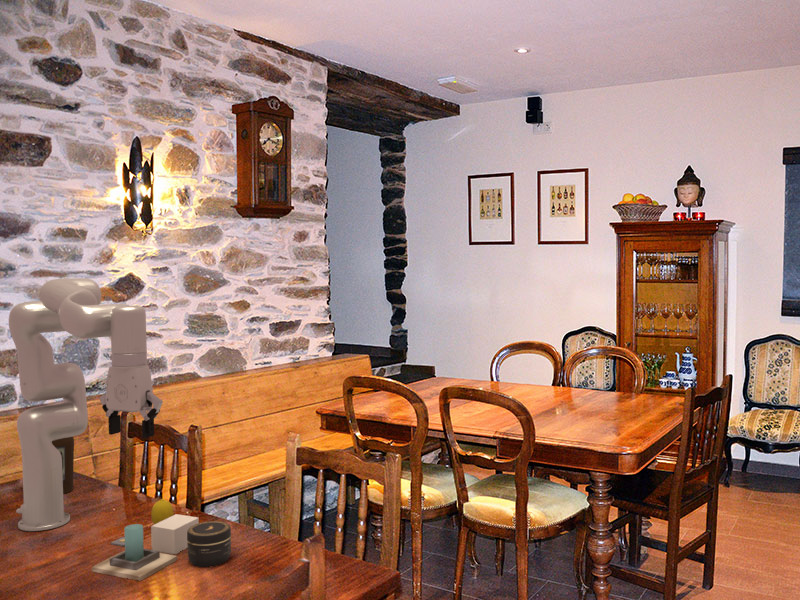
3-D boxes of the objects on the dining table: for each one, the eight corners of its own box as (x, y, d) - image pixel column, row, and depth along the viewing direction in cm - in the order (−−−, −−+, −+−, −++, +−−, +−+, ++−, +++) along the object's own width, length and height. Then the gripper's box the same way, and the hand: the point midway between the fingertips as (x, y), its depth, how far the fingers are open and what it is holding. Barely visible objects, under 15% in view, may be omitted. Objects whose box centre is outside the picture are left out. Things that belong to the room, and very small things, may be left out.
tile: (110, 544, 178) (110, 541, 178) (122, 538, 182) (122, 536, 182) (123, 546, 177) (123, 544, 176) (135, 540, 180) (135, 538, 180)
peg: (121, 563, 164) (120, 529, 163) (134, 556, 168) (133, 523, 167) (135, 566, 162) (134, 531, 162) (147, 559, 166) (146, 525, 166)
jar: (233, 550, 174) (232, 518, 173) (230, 567, 164) (229, 534, 164) (190, 553, 172) (189, 521, 172) (184, 570, 162) (184, 537, 162)
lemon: (167, 533, 185) (166, 503, 185) (147, 532, 186) (146, 501, 186) (177, 526, 190) (177, 496, 190) (158, 524, 191) (158, 495, 191)
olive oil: (42, 487, 225) (40, 408, 224) (79, 485, 228) (76, 406, 226) (32, 498, 215) (30, 415, 214) (70, 495, 217) (68, 413, 216)
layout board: (91, 571, 162) (91, 560, 162) (130, 551, 173) (130, 541, 173) (140, 581, 157) (140, 569, 157) (177, 560, 168) (176, 549, 168)
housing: (151, 550, 174) (151, 526, 174) (176, 537, 182) (176, 514, 182) (175, 554, 171) (174, 529, 171) (199, 541, 179) (198, 517, 179)
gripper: (87, 360, 163) (89, 435, 163) (148, 364, 156) (150, 442, 157) (112, 356, 170) (114, 428, 170) (171, 359, 163) (173, 434, 164)
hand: (131, 435), depth 164 cm, fingers open, 9 cm apart
